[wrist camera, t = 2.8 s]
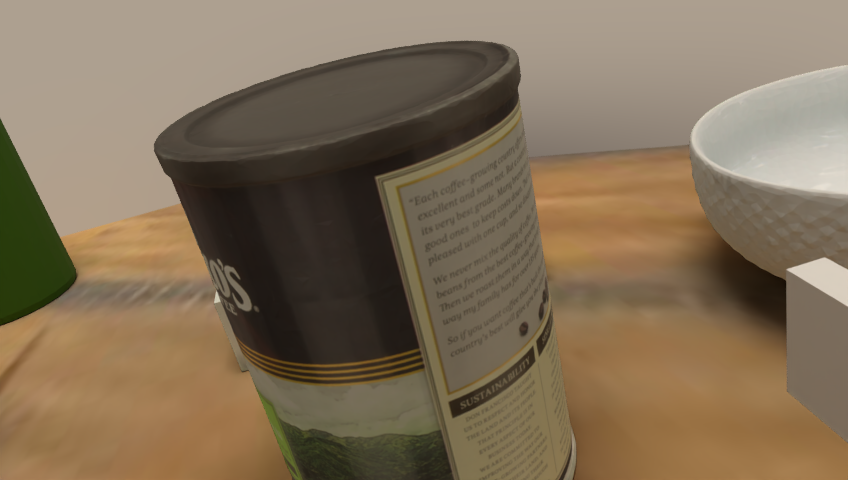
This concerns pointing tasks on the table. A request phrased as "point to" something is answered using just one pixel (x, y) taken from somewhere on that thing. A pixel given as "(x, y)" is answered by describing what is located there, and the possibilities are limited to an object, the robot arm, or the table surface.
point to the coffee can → (384, 264)
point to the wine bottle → (27, 242)
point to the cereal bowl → (778, 170)
